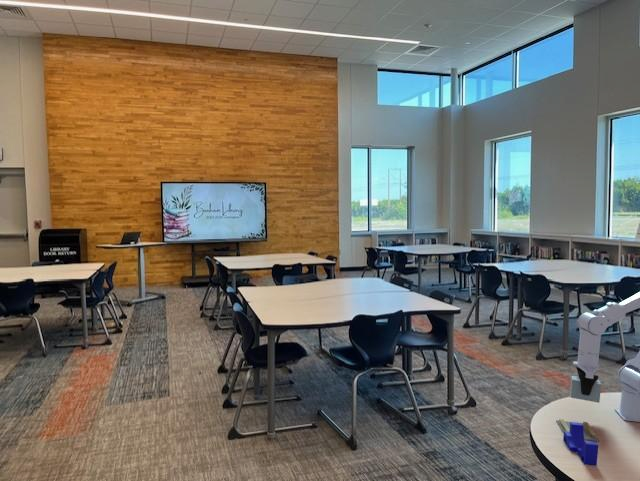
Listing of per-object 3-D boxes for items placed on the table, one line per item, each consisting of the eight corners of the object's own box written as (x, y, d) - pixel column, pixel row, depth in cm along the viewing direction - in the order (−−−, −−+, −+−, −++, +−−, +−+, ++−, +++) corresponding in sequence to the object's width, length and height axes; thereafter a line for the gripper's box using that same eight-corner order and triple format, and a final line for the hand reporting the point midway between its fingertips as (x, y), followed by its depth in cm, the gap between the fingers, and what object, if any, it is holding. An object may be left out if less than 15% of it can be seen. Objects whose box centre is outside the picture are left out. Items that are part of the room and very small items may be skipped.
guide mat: (587, 424, 146) (587, 424, 146) (599, 441, 137) (599, 440, 137) (556, 421, 148) (556, 420, 148) (565, 437, 139) (565, 436, 139)
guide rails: (586, 425, 146) (587, 422, 145) (596, 438, 138) (596, 435, 138) (559, 422, 147) (559, 419, 147) (566, 435, 139) (566, 431, 139)
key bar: (597, 398, 151) (599, 380, 150) (599, 402, 148) (601, 384, 147) (569, 393, 154) (571, 375, 153) (570, 397, 151) (572, 379, 150)
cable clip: (563, 440, 137) (564, 421, 136) (579, 442, 136) (581, 422, 136) (578, 464, 125) (580, 443, 125) (596, 466, 125) (598, 445, 124)
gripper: (572, 342, 157) (569, 381, 159) (576, 356, 144) (572, 398, 146) (596, 345, 154) (593, 385, 156) (603, 360, 141) (598, 403, 143)
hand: (584, 392), depth 151 cm, fingers closed on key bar, 4 cm apart
